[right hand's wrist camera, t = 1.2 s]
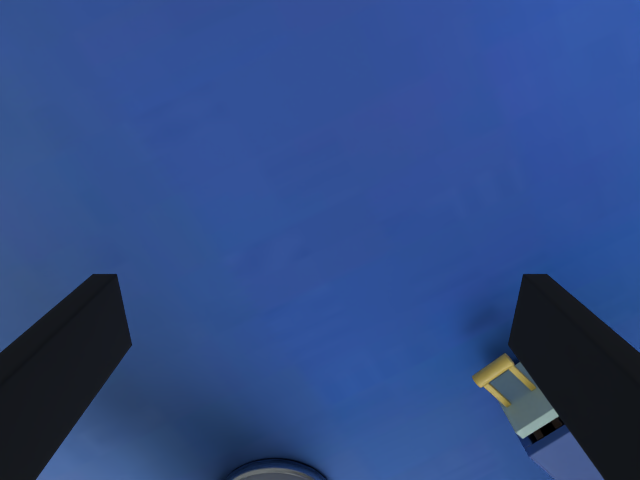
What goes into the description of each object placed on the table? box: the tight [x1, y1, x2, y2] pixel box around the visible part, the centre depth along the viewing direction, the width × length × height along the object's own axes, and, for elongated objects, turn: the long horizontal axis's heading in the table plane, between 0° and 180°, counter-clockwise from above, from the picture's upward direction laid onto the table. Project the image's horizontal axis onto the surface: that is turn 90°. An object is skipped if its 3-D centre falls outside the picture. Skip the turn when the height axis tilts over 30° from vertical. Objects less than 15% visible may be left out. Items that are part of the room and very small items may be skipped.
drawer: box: [472, 353, 565, 441], centre depth 42 cm, size 23×4×7 cm, turn 46°
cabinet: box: [516, 425, 604, 480], centre depth 43 cm, size 19×6×8 cm, turn 46°
